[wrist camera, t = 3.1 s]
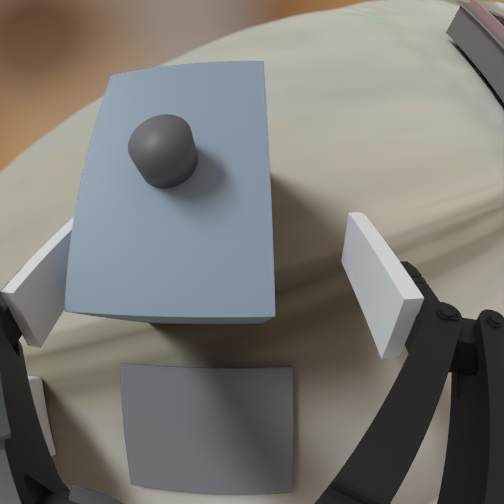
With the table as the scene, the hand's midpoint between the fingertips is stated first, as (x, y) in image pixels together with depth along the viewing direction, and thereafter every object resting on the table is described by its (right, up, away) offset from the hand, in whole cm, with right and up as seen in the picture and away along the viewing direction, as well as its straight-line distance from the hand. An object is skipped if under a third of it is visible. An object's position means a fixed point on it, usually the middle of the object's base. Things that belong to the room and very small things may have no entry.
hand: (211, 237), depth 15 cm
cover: (-1, 0, +8) cm, 8 cm away
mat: (-1, -13, +4) cm, 14 cm away
